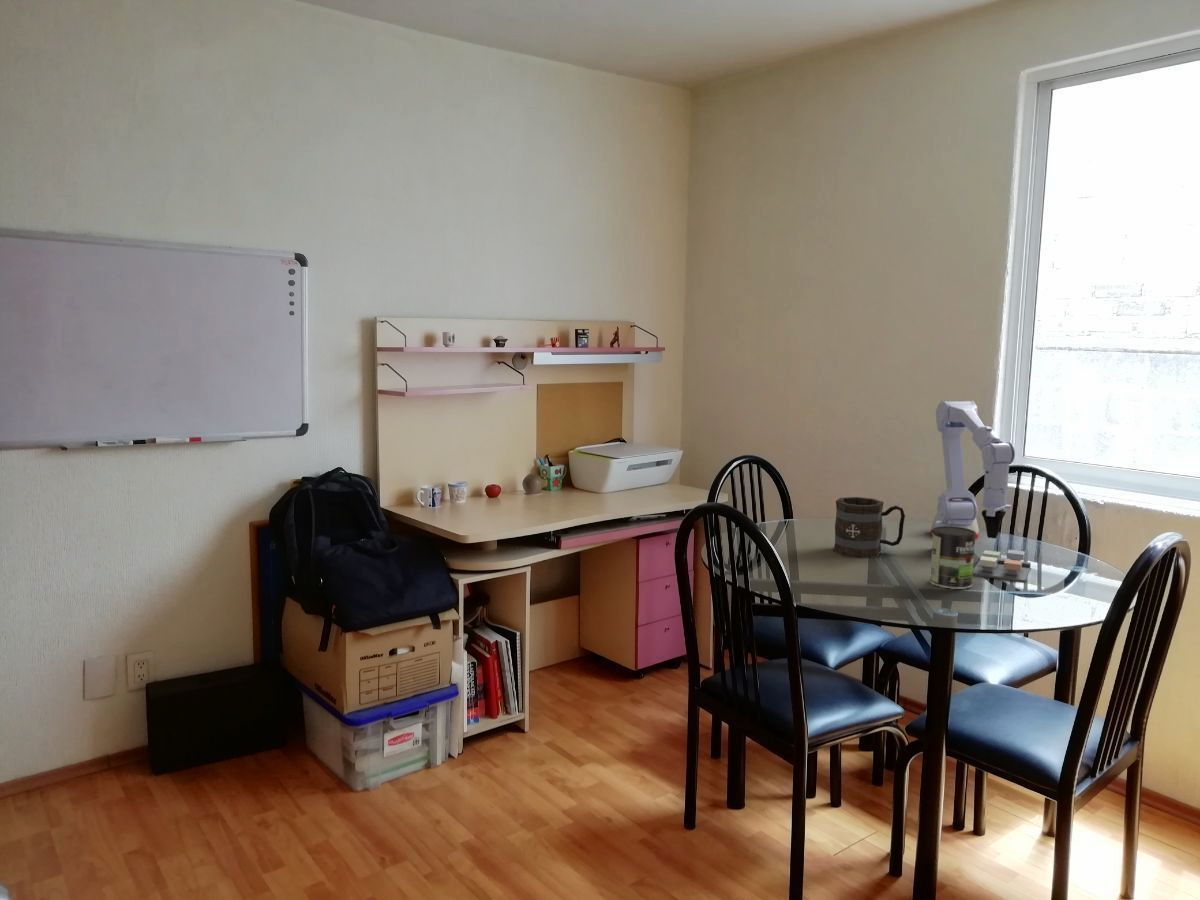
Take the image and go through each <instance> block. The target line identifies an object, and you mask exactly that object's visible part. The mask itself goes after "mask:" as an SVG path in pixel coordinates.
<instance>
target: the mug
mask: <svg viewBox="0 0 1200 900" xmlns="http://www.w3.org/2000/svg"><path fill="white" fill-rule="evenodd" d="M835 505H836V510H835V511H836V513H835V515H836V516H835V521H834V533H835V534H834V547H833V552H835V553H837V554H838V555H841V556H842V557H843V556H844V557H850V558H856V559H857V558H859V559H865V558H867V557H868V558H872V557H871V556H877V555H878V554H879V552H880V551H881V552H882V548H881V544H883V545H888V546H891V547H894V546H898V545H900V542H901V541H902V539H903V535H904V523H905V518H906V515H905V511H904V509H903V507H900V506H898V505H894V506H890V507H889V508H888V509H886V510H885V511H883V509H884V501H881V500H878V499H877V498H870V497H863V496H862V497H861V496H852V497H851V496H849V497H848V496H847V497H846V496H845V497H840V498H839V497H838V499H837V500H835ZM896 510H898V511H900V519H899V523H898V524H899V525H898V536H897V537H896V538H897V539H896V540H895V541H890V540H887V539H882V532H883V517H885V516H888V515H890V514H891V513H892V512H893V511H896ZM879 555H880V554H879ZM879 555H878V556H879ZM878 556H877V557H878ZM868 558H867V559H868Z"/></svg>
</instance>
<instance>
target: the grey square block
mask: <svg viewBox="0 0 1200 900" xmlns="http://www.w3.org/2000/svg"><path fill="white" fill-rule="evenodd" d="M1006 553H1007V554H1006V559H1009V560H1017V561H1022V562H1024V560H1025V555H1026V551H1024V550H1016V549H1015V550H1014V549H1008V550H1007V552H1006Z"/></svg>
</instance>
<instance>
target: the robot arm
mask: <svg viewBox="0 0 1200 900" xmlns="http://www.w3.org/2000/svg"><path fill="white" fill-rule="evenodd" d="M978 411H979V410H978V406H977V404H976V403H975V402H974V400H968V401H967V400H966V401H961V400H959V401H955V400H954V401H946V400H941V401H940V402H939V403H938V405H937V408H936V410H935V419H936V429H937V431H938V432H940V434H941V442H942V453H943V454H942V455H943V463H944V464H943V465H944V472H945V476H944V477H945V483H946V489H945V490H944V491H943V492H942V493H941V494H940V495H939V496H938V497H937V507H936V513H937V514H938V517H939V519H940V520H941V521H936V524H935V527H941V526H952V527H961V528H967V529H970V524H972V522H973V521H974V520H975V519H976V520H977V516H978V513H979V510H978V509H979V507H978V505H977V504H978V503H977V502H976V499H975V498H976V497H975V495H974V494H973V492H971V491H970V490H968V489H967V488H966V480H965V471H964V462H963V459H964V458H963V450H962V439H961V435H962V433H963V432H966V431H967V430H969V432H970V433H971V434H972V440H973V442H974V444H975V445H976V446H977V448H978V449H979V450H980V451H981V460H982V465H983V466H982V468H983V470H984V482H983V495H982V496H983V497H982V498H983V499H982V502H981V507H982V508H983V510H982V511H981V516H982V518H983V520H984V523H985V528H986V529H985V530H986V536H987V538H989V539H996V538H998V534H999V532H1000V531H999V530H1000V527H1001V525H1002V524H1001V523H1002V522H1003V519H1004V517H1005V516H1006V513H1007V511H1006V510H1005V509H1008V510H1009V509H1011V508H1012V505H1011V504H1007V499H1008V498H1007V497H1008V486H1009V485H1008V483H1009V469H1010V465H1011V464H1012V463H1013V462H1014V461H1015V460H1014V459H1015V456H1016V452H1015V449H1014V446H1013V444H1012V443H1011V442H1010V441H1009V442H1007V441H1002V439H1001V438H1000V437H999V435H998V434H997V433H996V432H995V430H993V427H991V426H988V425H987V426H986V425H984V423H983V422H982V420H981V418H980V417H979V416H978ZM949 499H962V500H949Z"/></svg>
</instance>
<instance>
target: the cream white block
mask: <svg viewBox="0 0 1200 900" xmlns="http://www.w3.org/2000/svg"><path fill="white" fill-rule="evenodd" d="M982 556H985V557H993V558H998V559H997V561H999V559H1001V551H995V550H984V551H983V553H982Z"/></svg>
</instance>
